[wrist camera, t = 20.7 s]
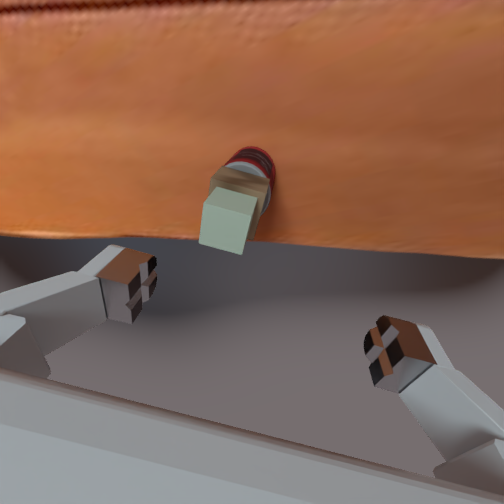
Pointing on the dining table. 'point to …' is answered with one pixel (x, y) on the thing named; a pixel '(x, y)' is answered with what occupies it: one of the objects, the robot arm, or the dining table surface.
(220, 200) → the sage cube
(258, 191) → the walnut block
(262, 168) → the canned food
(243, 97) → the dining table surface
